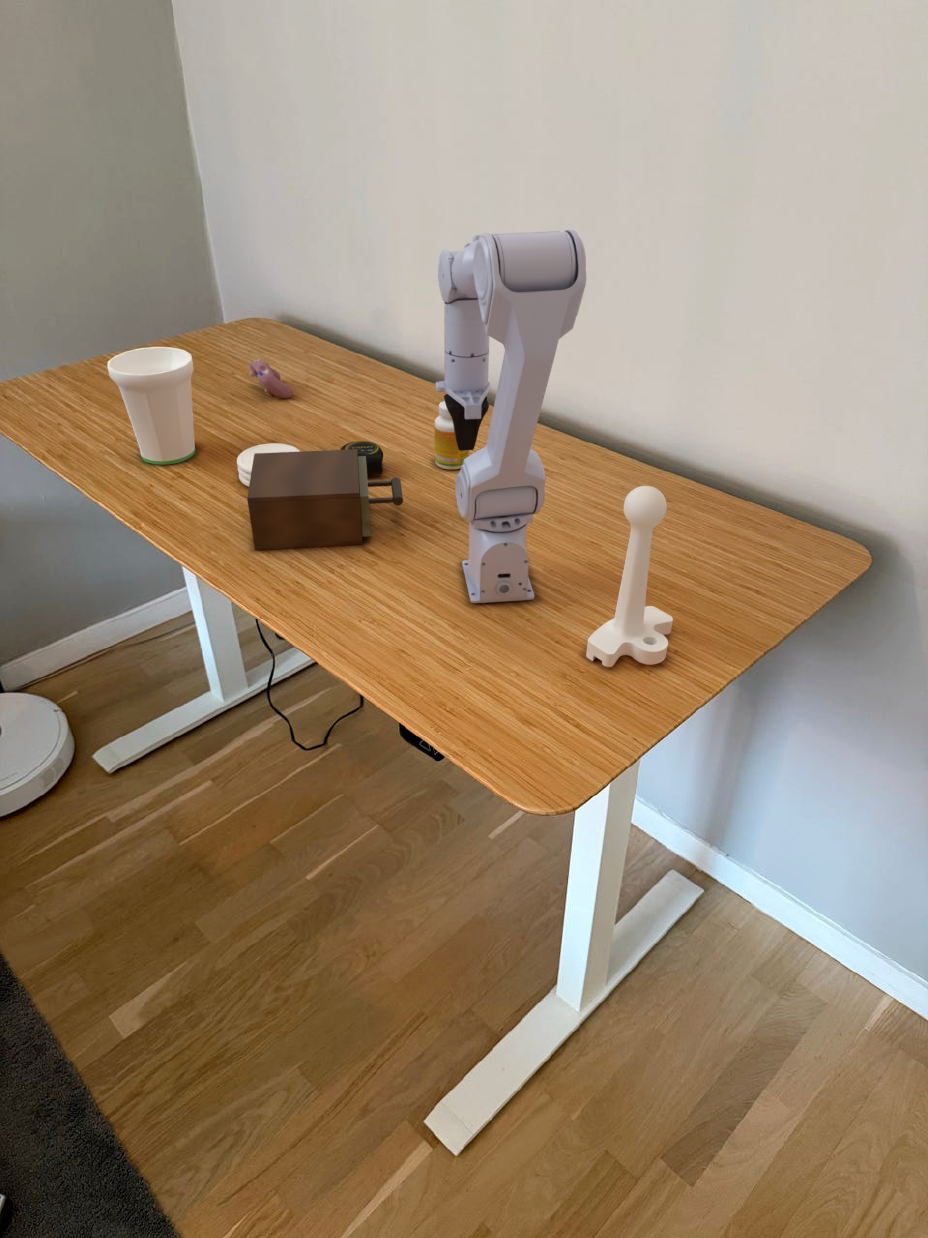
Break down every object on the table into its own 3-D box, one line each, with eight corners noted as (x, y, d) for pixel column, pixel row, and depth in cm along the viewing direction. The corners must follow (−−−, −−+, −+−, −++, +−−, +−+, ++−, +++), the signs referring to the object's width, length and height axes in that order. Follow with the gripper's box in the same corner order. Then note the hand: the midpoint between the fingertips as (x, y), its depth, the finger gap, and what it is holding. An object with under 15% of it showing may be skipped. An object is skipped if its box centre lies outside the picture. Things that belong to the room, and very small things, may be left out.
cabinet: (360, 498, 132) (356, 448, 127) (362, 544, 121) (359, 492, 116) (261, 502, 130) (254, 453, 125) (254, 550, 119) (247, 497, 115)
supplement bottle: (465, 472, 139) (465, 413, 133) (431, 468, 140) (430, 409, 134) (471, 457, 143) (472, 399, 137) (439, 454, 144) (438, 396, 138)
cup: (111, 464, 140) (88, 369, 131) (156, 433, 149) (138, 342, 141) (181, 475, 137) (163, 379, 128) (222, 443, 147) (208, 351, 138)
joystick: (642, 616, 108) (666, 465, 96) (692, 646, 103) (723, 491, 91) (578, 651, 102) (594, 495, 90) (627, 684, 97) (651, 524, 86)
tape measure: (338, 480, 136) (336, 458, 134) (342, 461, 142) (340, 439, 139) (383, 480, 136) (382, 458, 134) (385, 460, 142) (384, 439, 140)
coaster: (227, 474, 137) (224, 453, 135) (283, 456, 143) (281, 436, 141) (260, 498, 131) (257, 476, 129) (317, 479, 136) (315, 458, 134)
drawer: (400, 492, 131) (398, 454, 128) (405, 534, 121) (404, 494, 118) (275, 498, 129) (270, 459, 126) (271, 541, 119) (265, 500, 116)
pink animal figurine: (261, 391, 169) (240, 361, 164) (281, 377, 169) (261, 347, 165) (275, 409, 162) (254, 379, 157) (296, 395, 162) (275, 364, 157)
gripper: (430, 332, 119) (431, 427, 127) (441, 371, 107) (441, 473, 115) (482, 330, 120) (480, 425, 128) (499, 369, 108) (495, 470, 116)
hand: (465, 448), depth 122 cm, fingers closed
